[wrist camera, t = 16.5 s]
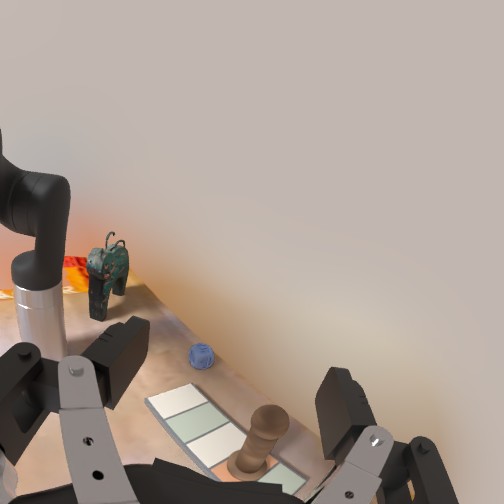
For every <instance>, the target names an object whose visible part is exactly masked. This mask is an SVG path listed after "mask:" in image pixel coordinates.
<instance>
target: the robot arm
mask: <svg viewBox="0 0 504 504" xmlns="http://www.w3.org/2000/svg"><path fill="white" fill-rule="evenodd" d="M70 198H71V196H70V186H69V183H68V181H67V179H65V177H63V176H59V175H53V174H46V173H38V172H30V171H25V170H21V169H19V168H18V167H16V166H14V165H13V164H12V163H10V162H9V161H8V160H7V159H6V158H5V157H4V156H3V155H2V135H1V129H0V223H1V224H3V225H4V226H5V227H7V228H8V229H10V230H12V231H14V232H16V233H20V234H24V235H28V236H33V237H36V240H35V241H36V242H35V250H32V251H28V252H24V253H22V254H20V255H18V256H17V257H15V258H14V260H13V261H12V265H11V274H12V284H13V294H14V301H15V308H16V315H17V321H18V326H19V331H20V336H21V341H22V342H21V343H17V344H15V345H14V346H12V347H11V348H10V349H9V350H8V351H7V352H6V353H5V354H3V355H2V356H1V357H0V504H370V502H371V500H372V499H373V497H374V495H375V493H376V496H377V502H378V504H459V503H458V500H457V498H456V495H455V492H454V490H453V487H452V484H451V482H450V479H449V477H448V474H447V471H446V469H445V467H444V464H443V462H442V459H441V457H440V455H439V453H438V450H437V448H436V446H435V444H434V443H433V442H432V441H431V440H430V439H428V438H426V437H422V436H418V437H415V438H414V439H413V440H412V441H411V442H410V443H409V444H406V443H402V442H397V441H394V440H393V437H392V435H391V434H390V433H389V432H388V431H387V430H386V429H384V428H382V427H380V426H377V423H376V421H375V418H374V416H373V413H372V410H371V408H370V405H368V401H367V398H366V395H365V393H364V390H363V388H362V387H361V386H360V385H359V384H358V383H357V382H356V381H354V380H352V377H351V375H350V372H349V370H348V369H345V368H338V367H331V368H330V369H329V371H328V372H327V374H326V376H325V379H324V380H323V382H322V384H321V386H320V388H319V390H318V392H317V394H316V398H315V405H316V411H317V417H318V422H319V428H320V434H321V440H322V446H323V452H324V458H325V460H335V465H334V466H333V467H332V468H331V469H330V471H329V472H328V473H327V475H326V476H325V477H324V478H323V480H322V481H321V482H320V483H319V485H318V486H317V487H316V488H315V489H314V491H313V492H312V493H311V494H310V495H309V496H308V497H307V498H306V499H305V500H304V501H302V500H300V499H299V498H297V497H295V496H293V495H290V494H288V493H285V492H283V488H282V484H276V483H266V482H258V481H237V482H219V481H215V480H213V479H210V478H208V477H206V476H204V475H202V474H199V473H197V472H195V471H193V470H191V469H189V468H187V467H184V466H180V465H177V464H173V463H170V462H167V461H164V460H161V459H158V458H155V460H154V463H153V465H151V464H129V465H122V462H121V460H120V457H119V454H118V451H117V448H116V445H115V442H114V439H113V436H112V433H111V430H110V427H109V423H108V420H107V416H106V413H105V409H104V407H107V408H109V409H112V410H114V408H115V406H116V405H117V403H118V402H119V400H120V398H121V397H122V395H123V394H124V392H125V391H126V389H127V387H128V386H129V384H130V383H131V381H132V380H133V378H134V377H135V375H136V373H137V372H138V370H139V369H140V367H141V366H142V364H143V363H144V361H145V359H146V356H147V352H148V342H149V329H150V322H149V321H148V320H145V319H142V318H139V317H136V316H132V317H131V318H130V319H129V320H128V321H127V322H126V323H125V324H123V323H121V322H119V323H116V324H114V325H111V326H109V327H108V328H107V329H106V330H105V331H104V333H102V334H101V335H100V336H99V338H97V339H96V340H95V341H94V342H93V343H92V344H91V345H90V346H89V347H88V348H87V349H86V350H85V351H84V352H83V353H82V354H81V355H80V356H78V355H71V356H68V349H67V341H66V332H65V322H64V309H63V290H62V268H63V261H64V254H65V240H66V230H67V222H68V216H69V209H70ZM50 412H54V413H58V414H59V417H60V425H61V432H62V438H63V444H64V449H65V454H66V459H67V463H68V468H69V472H70V476H71V479H72V483H70V484H67V485H63V486H60V487H56V488H52V489H48V490H44V491H40V492H35V493H31V494H26V495H21V496H18V497H17V495H16V488H17V483H18V474H17V471H16V469H15V467H14V466H15V465H16V463H17V461H18V460H19V458H20V457H21V455H22V454H23V452H24V450H25V449H26V447H27V446H28V444H29V443H30V441H31V440H32V438H33V437H34V435H35V434H36V432H37V431H38V429H39V428H40V426H41V425H42V423H43V422H44V421H45V419H46V418H47V416H48V415H49V413H50ZM410 480H411V481H412V484H413V488H414V491H415V497H414V500H413V501H412V499H411V495H410V491H409V488H408V484H407V483H408V482H409V481H410Z"/></svg>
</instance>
